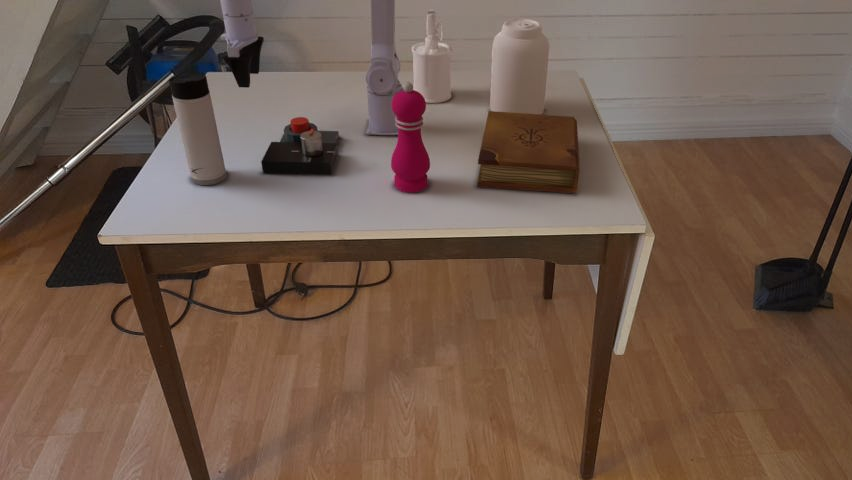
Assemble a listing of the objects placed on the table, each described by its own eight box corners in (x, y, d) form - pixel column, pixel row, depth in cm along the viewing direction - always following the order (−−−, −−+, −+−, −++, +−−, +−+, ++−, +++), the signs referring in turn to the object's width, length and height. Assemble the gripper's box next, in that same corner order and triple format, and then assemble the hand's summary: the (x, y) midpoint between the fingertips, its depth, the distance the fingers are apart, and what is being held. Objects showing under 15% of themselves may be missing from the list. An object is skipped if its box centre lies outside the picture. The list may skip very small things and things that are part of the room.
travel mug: (195, 189, 129) (170, 84, 117) (189, 173, 134) (164, 71, 122) (230, 182, 132) (209, 78, 120) (223, 167, 136) (202, 66, 125)
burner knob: (321, 156, 135) (319, 138, 133) (300, 156, 135) (298, 137, 133) (324, 147, 139) (322, 129, 136) (304, 147, 139) (302, 128, 136)
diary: (576, 194, 132) (580, 166, 129) (477, 187, 133) (478, 159, 130) (574, 141, 151) (577, 115, 147) (487, 135, 152) (488, 110, 148)
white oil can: (418, 86, 173) (416, 2, 161) (455, 90, 171) (456, 6, 160) (406, 103, 164) (403, 15, 153) (445, 107, 163) (445, 19, 151)
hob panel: (338, 154, 142) (337, 142, 140) (332, 175, 135) (330, 162, 134) (273, 153, 142) (271, 140, 140) (263, 173, 135) (261, 160, 133)
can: (553, 108, 164) (561, 21, 153) (527, 126, 156) (533, 35, 144) (507, 96, 170) (512, 11, 158) (479, 113, 161) (482, 24, 149)
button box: (339, 137, 149) (337, 122, 147) (333, 152, 143) (332, 136, 141) (286, 136, 148) (284, 120, 146) (279, 151, 143) (276, 135, 141)
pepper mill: (415, 198, 129) (412, 93, 117) (384, 187, 132) (378, 84, 120) (437, 182, 134) (437, 80, 122) (407, 172, 137) (403, 72, 125)
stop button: (311, 126, 145) (310, 117, 144) (307, 134, 142) (306, 124, 141) (293, 126, 145) (292, 116, 144) (290, 133, 142) (288, 124, 141)
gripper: (227, 2, 144) (238, 67, 152) (206, 23, 132) (219, 92, 140) (262, 3, 144) (271, 67, 152) (244, 24, 133) (255, 93, 141)
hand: (249, 79), depth 146 cm, fingers open, 7 cm apart
